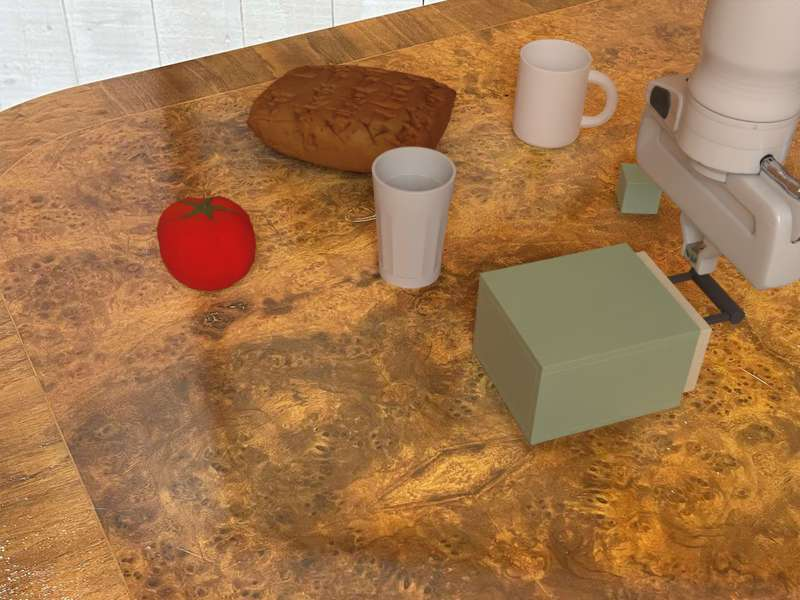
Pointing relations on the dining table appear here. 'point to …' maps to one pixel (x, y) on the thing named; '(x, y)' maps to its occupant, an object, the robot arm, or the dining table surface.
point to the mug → (556, 93)
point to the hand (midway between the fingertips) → (696, 264)
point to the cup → (412, 213)
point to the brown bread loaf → (350, 114)
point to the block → (637, 191)
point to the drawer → (713, 293)
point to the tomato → (206, 242)
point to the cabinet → (582, 341)
